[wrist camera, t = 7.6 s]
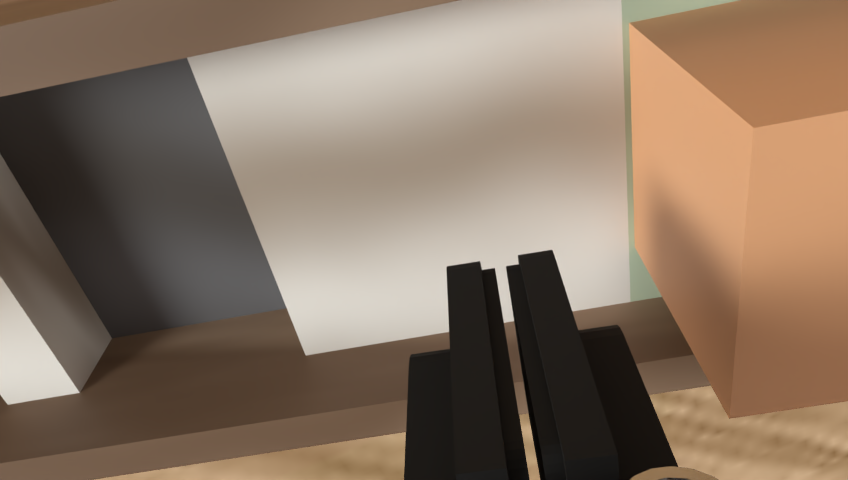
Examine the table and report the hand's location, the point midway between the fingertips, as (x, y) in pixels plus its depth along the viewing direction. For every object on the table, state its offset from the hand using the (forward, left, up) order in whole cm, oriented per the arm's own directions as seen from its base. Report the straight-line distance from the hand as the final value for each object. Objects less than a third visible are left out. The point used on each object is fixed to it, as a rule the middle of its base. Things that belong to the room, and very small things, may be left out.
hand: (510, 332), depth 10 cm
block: (+1, -6, -4) cm, 7 cm away
